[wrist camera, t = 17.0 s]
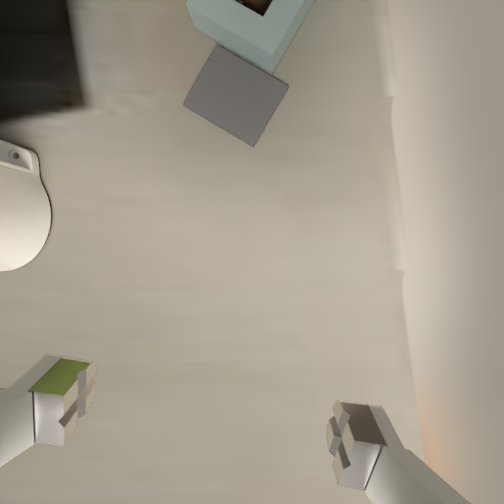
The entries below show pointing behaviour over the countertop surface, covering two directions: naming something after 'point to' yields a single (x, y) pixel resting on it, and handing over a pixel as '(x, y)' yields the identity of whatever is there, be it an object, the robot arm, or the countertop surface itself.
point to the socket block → (250, 27)
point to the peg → (257, 6)
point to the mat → (235, 95)
